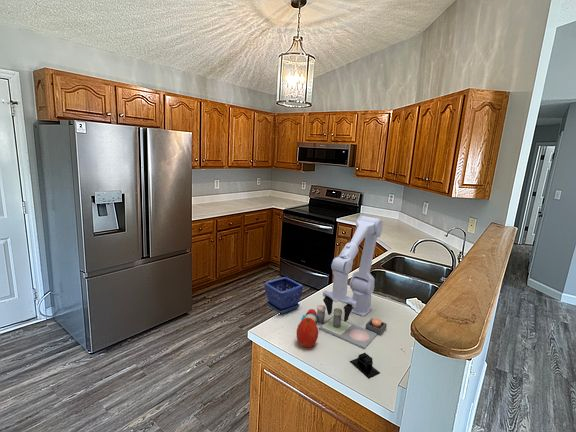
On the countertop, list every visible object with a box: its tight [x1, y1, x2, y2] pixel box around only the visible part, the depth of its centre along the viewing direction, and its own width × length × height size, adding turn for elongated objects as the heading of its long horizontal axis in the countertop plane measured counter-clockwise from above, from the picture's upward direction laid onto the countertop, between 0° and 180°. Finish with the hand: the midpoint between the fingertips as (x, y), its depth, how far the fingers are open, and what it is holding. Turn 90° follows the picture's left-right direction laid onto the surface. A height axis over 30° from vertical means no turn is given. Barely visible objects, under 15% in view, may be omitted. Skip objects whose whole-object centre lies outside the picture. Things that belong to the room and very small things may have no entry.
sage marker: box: [332, 307, 343, 328], centre depth 127 cm, size 4×4×7 cm
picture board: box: [318, 315, 378, 350], centre depth 125 cm, size 12×20×1 cm, turn 52°
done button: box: [371, 317, 383, 328], centre depth 127 cm, size 4×4×2 cm
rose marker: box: [316, 304, 327, 325], centre depth 130 cm, size 4×4×7 cm
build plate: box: [349, 352, 381, 380], centre depth 104 cm, size 12×7×5 cm, turn 30°
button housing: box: [364, 317, 388, 337], centre depth 127 cm, size 6×6×2 cm
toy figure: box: [300, 308, 317, 323], centre depth 128 cm, size 8×5×15 cm
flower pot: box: [264, 276, 304, 315], centre depth 141 cm, size 13×13×12 cm
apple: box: [296, 318, 319, 348], centre depth 115 cm, size 8×8×11 cm
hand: (337, 317), depth 127 cm, fingers open, 7 cm apart
